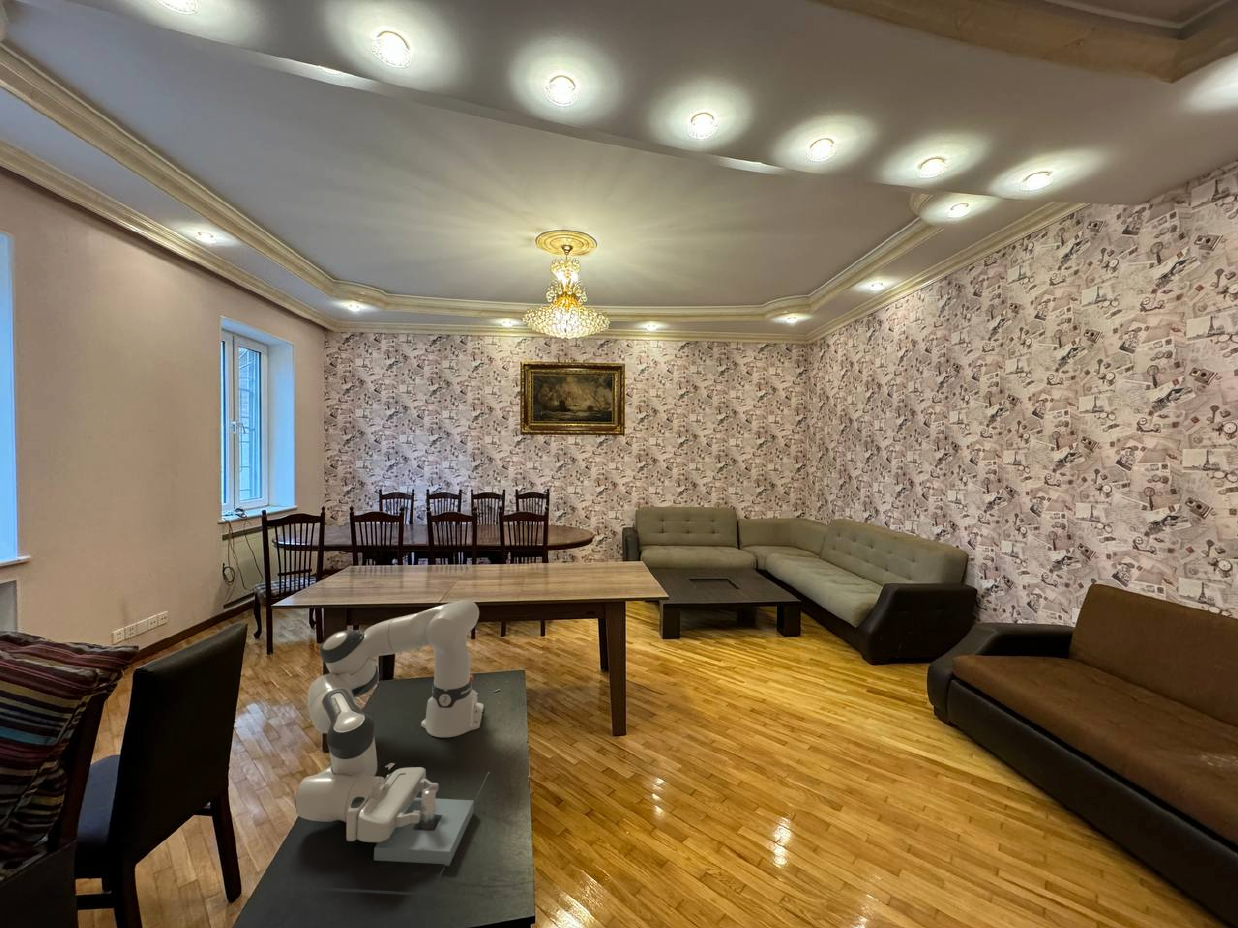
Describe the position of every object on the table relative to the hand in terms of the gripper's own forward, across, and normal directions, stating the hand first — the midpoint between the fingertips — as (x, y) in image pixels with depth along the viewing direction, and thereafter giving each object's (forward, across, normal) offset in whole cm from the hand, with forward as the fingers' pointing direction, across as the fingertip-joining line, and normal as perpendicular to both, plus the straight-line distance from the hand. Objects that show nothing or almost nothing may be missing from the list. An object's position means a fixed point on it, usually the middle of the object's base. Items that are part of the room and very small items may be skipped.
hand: (429, 802), depth 111 cm
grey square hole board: (0, 0, -8) cm, 8 cm away
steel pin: (0, 0, -8) cm, 8 cm away
